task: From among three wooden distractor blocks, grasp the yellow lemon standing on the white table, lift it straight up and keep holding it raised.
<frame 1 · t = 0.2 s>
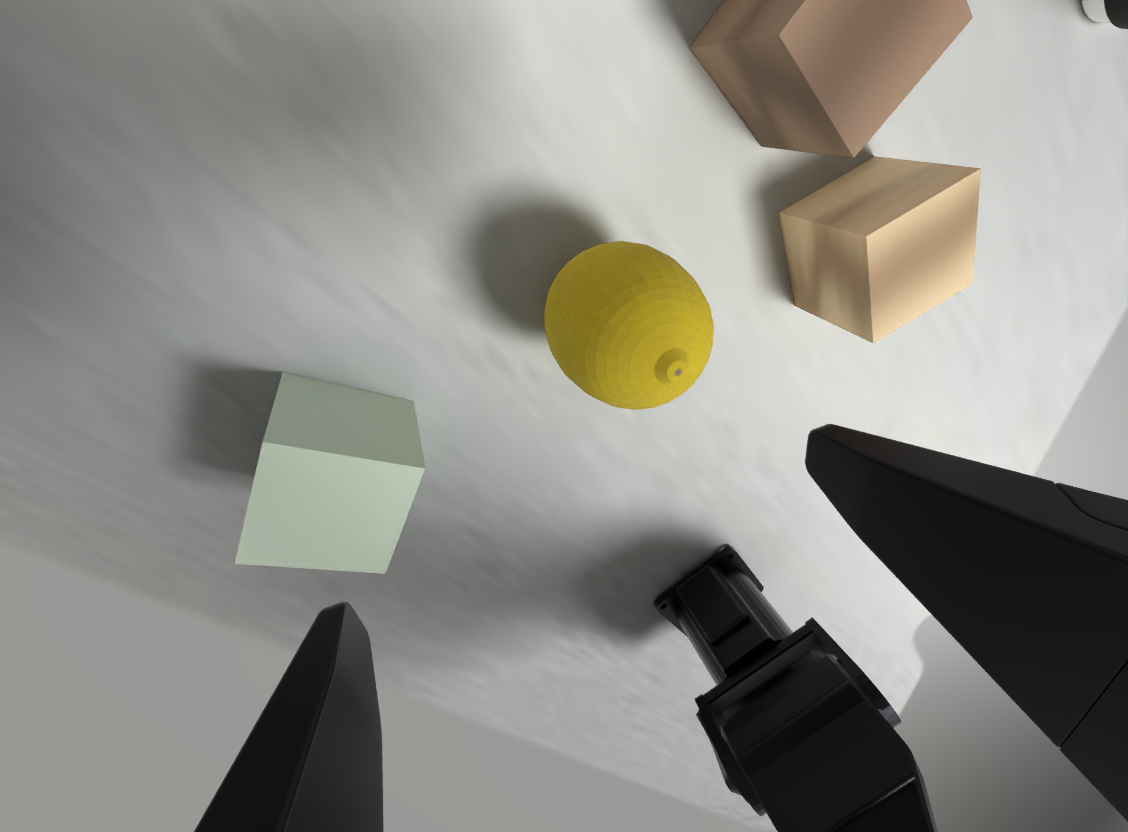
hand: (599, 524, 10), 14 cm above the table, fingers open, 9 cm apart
sage block: (336, 437, 22), on the table
walnut block: (772, 40, 19), on the table
oak block: (830, 234, 25), on the table
lemon: (583, 289, 22), on the table
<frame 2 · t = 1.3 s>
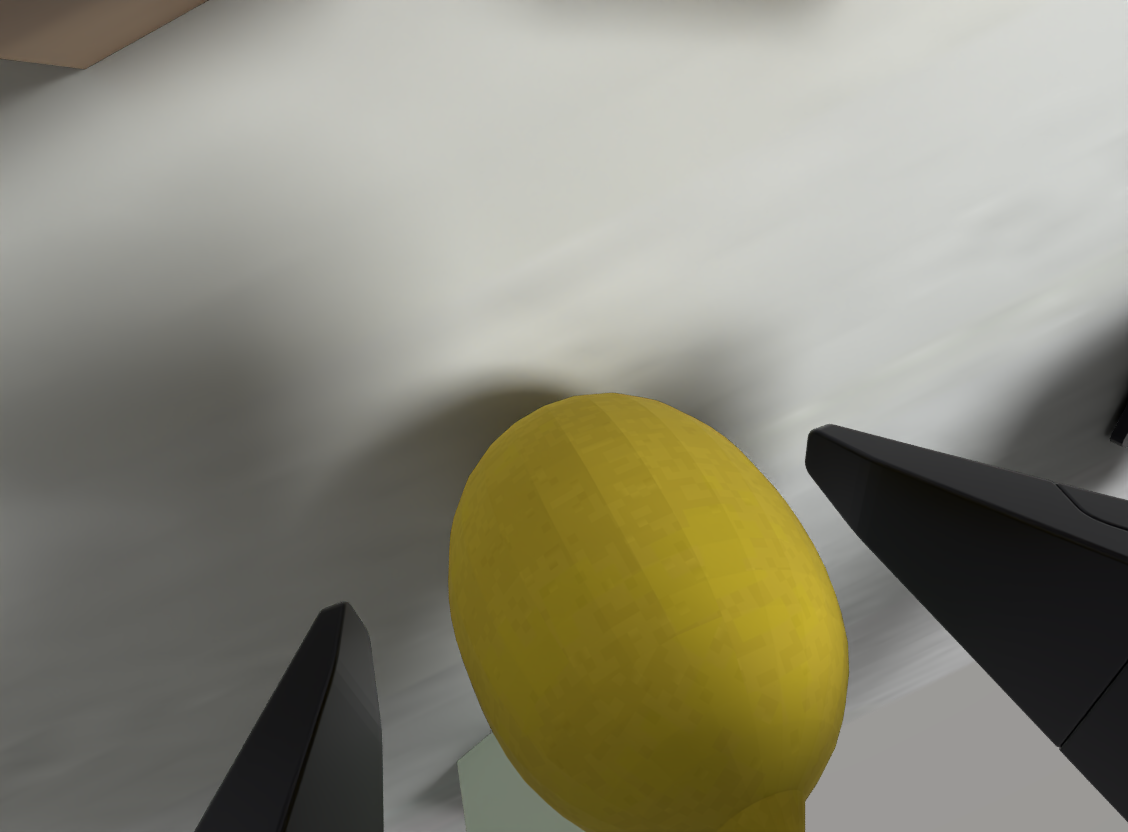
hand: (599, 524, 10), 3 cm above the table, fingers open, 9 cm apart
sage block: (558, 729, 18), on the table
lemon: (549, 439, 12), on the table
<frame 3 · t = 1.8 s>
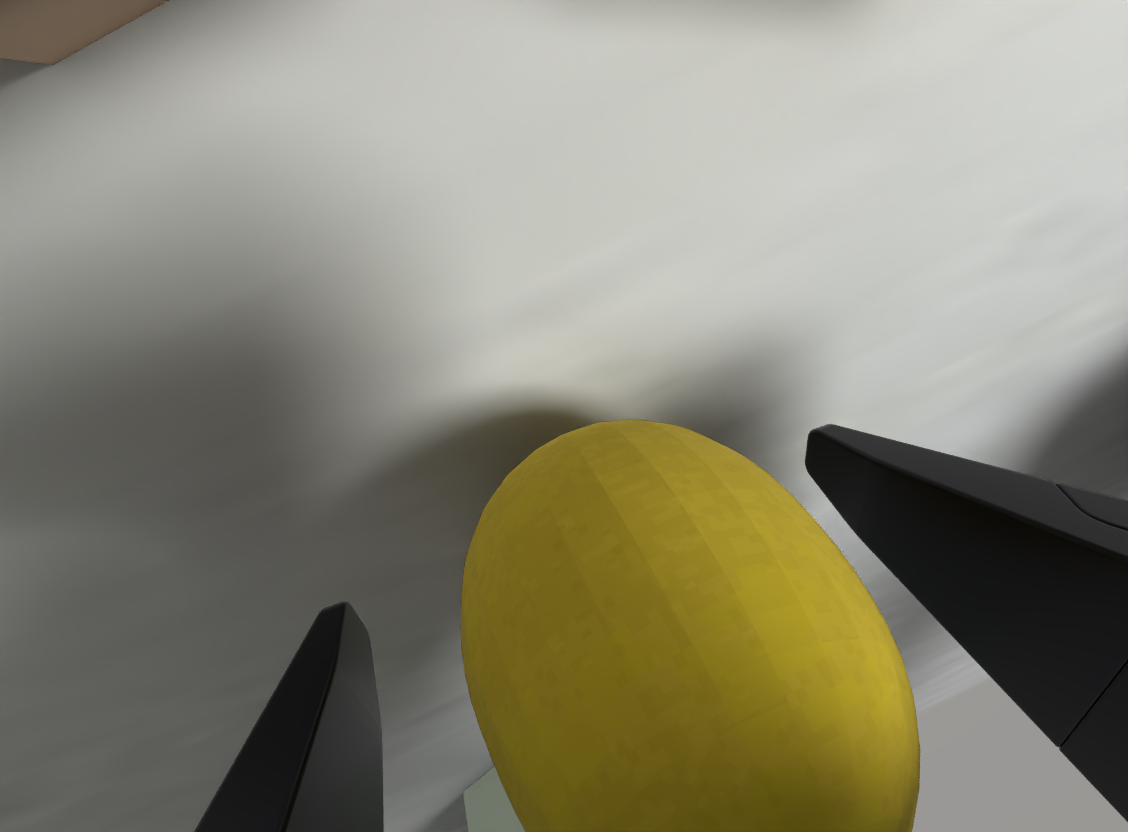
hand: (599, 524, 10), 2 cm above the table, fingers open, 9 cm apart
sage block: (568, 757, 17), on the table
lemon: (564, 462, 11), on the table
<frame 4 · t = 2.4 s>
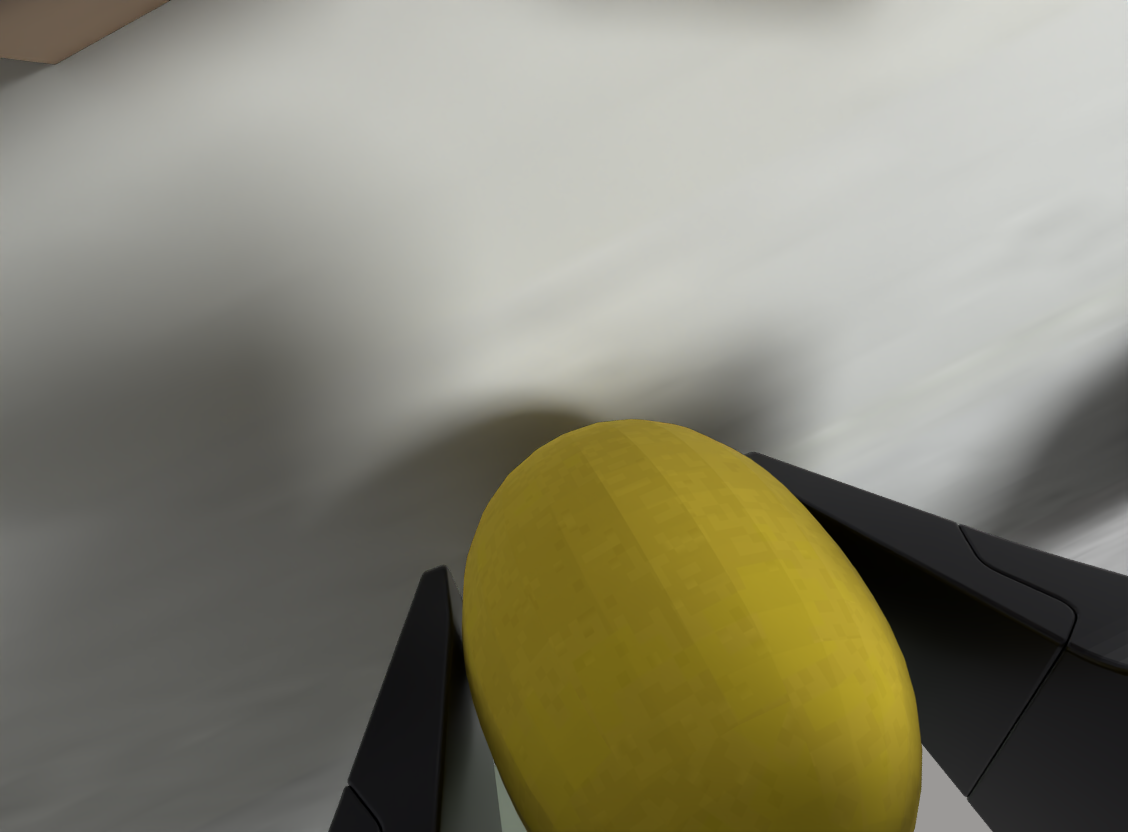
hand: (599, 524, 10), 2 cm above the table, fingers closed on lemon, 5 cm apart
sage block: (569, 756, 17), on the table
lemon: (565, 462, 11), on the table, touching gripper
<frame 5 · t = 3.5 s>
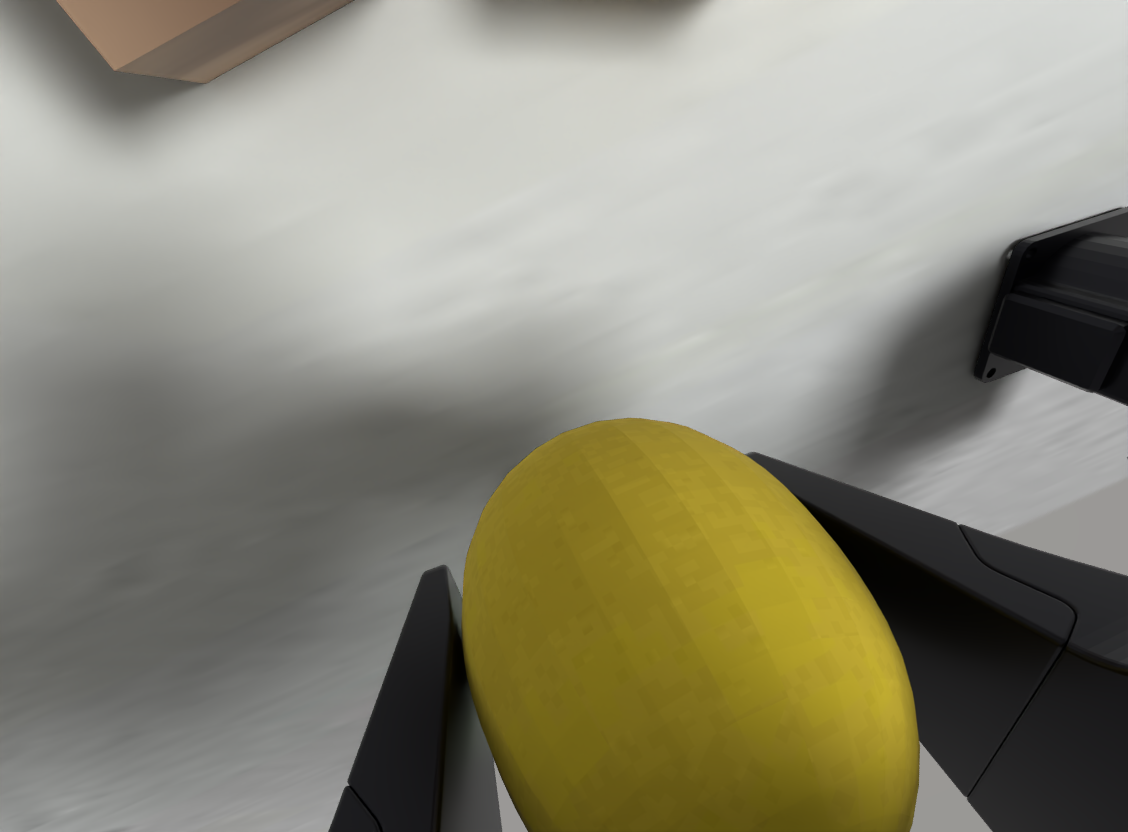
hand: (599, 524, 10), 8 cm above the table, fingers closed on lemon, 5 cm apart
lemon: (564, 461, 11), point 6 cm above the table, touching gripper
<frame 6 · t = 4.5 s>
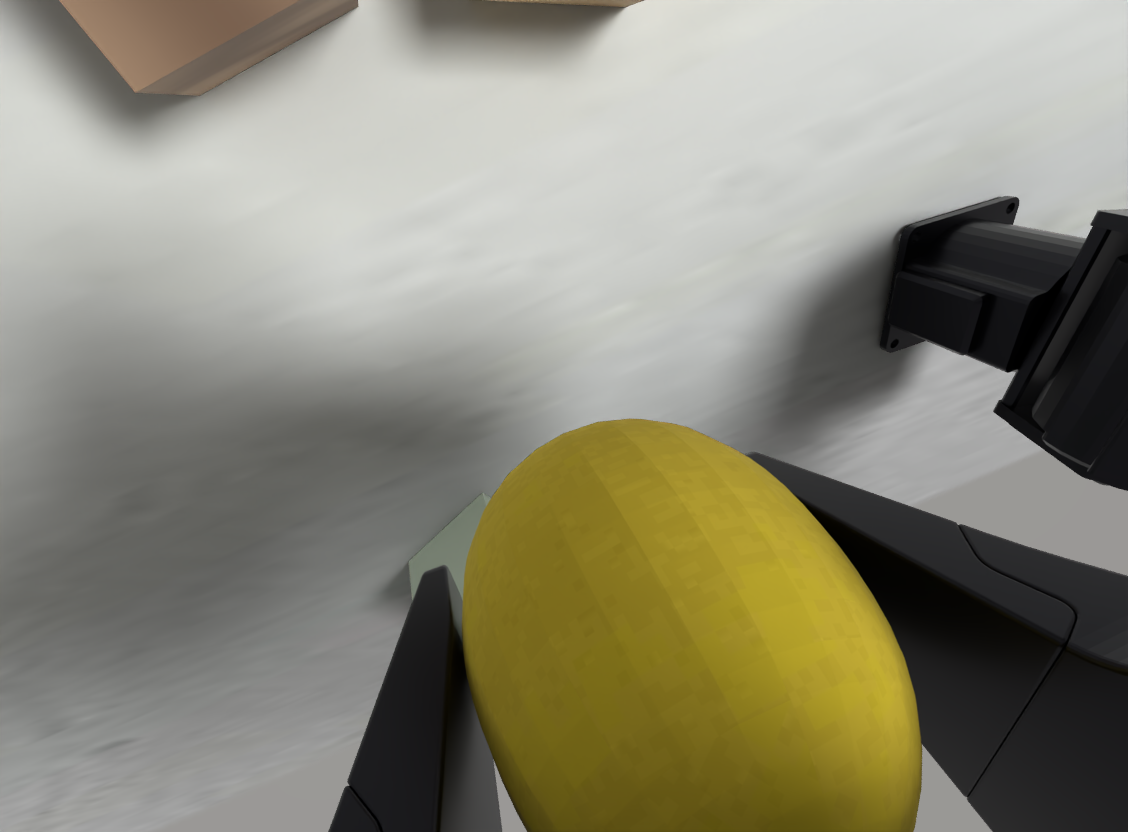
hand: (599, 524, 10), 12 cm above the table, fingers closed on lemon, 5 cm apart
sage block: (482, 547, 26), on the table
lemon: (565, 461, 11), point 10 cm above the table, touching gripper
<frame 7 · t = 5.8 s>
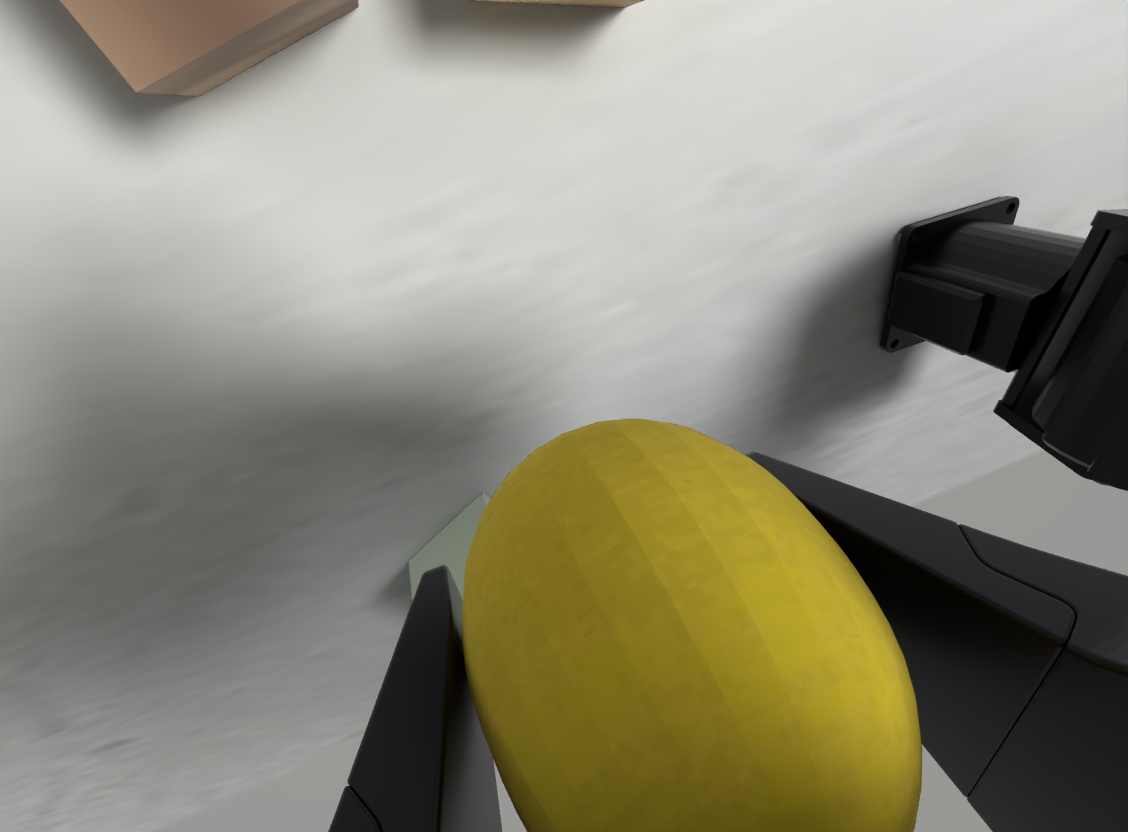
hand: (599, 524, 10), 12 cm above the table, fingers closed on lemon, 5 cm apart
sage block: (482, 547, 26), on the table
lemon: (565, 461, 11), point 10 cm above the table, touching gripper
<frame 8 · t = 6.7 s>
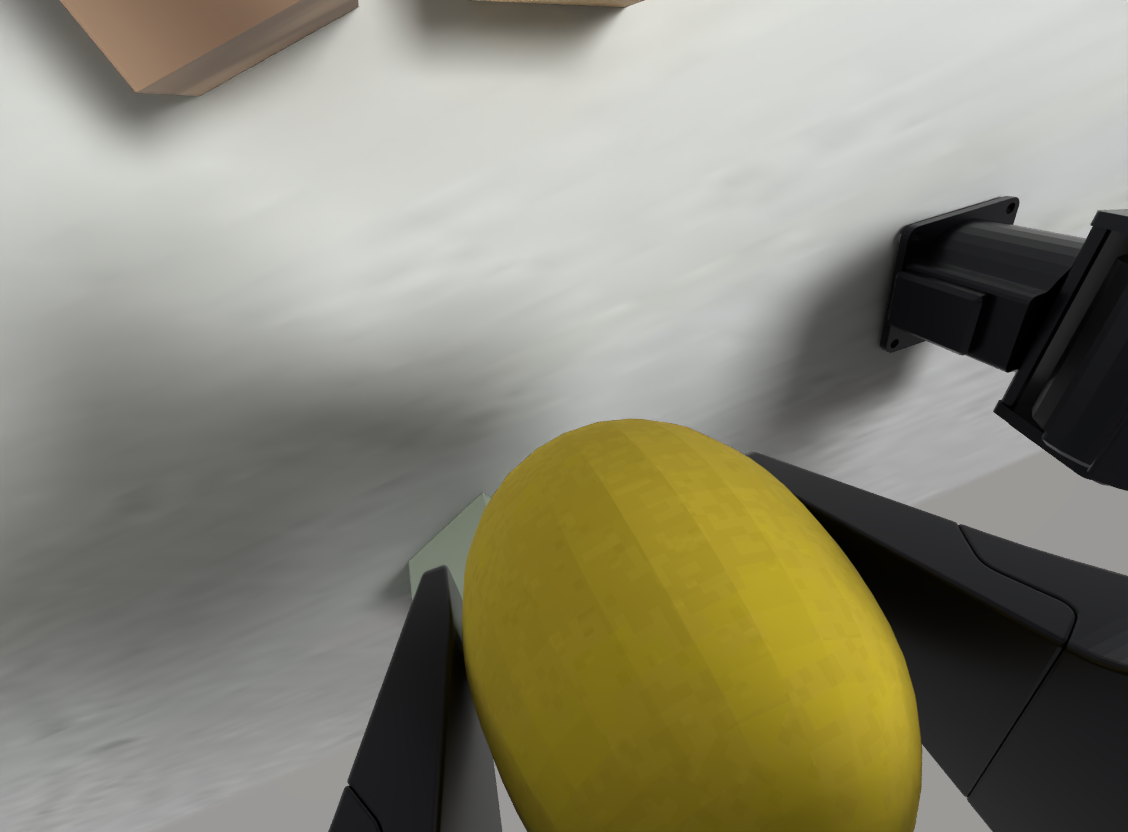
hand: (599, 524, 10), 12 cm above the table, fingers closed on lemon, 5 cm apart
sage block: (482, 547, 26), on the table
lemon: (565, 461, 11), point 10 cm above the table, touching gripper
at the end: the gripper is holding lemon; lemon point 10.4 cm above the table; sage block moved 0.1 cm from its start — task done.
